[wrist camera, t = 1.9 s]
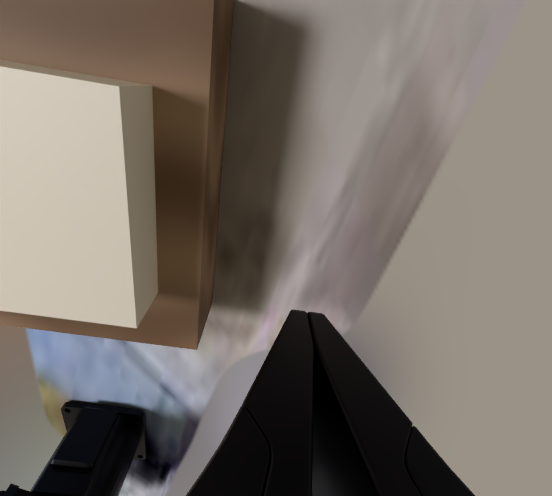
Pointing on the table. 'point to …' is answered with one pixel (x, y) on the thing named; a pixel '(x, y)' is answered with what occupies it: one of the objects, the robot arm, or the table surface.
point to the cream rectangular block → (76, 196)
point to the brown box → (167, 132)
